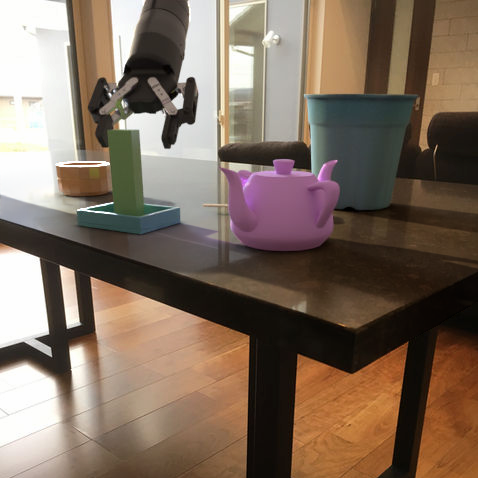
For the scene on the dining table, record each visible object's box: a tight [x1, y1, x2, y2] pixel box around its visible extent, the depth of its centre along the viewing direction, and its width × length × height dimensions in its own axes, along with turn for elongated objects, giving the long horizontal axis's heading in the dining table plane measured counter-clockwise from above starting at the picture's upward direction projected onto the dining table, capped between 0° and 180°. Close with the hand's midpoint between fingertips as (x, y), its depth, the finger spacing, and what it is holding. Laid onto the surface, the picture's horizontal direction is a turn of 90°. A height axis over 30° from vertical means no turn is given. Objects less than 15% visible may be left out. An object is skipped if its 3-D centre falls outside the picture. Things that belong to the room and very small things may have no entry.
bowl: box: [55, 161, 112, 197], centre depth 92 cm, size 9×9×5 cm
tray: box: [75, 202, 182, 235], centre depth 67 cm, size 10×8×2 cm
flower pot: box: [303, 93, 419, 211], centre depth 79 cm, size 16×16×16 cm
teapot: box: [218, 158, 340, 252], centre depth 57 cm, size 12×14×9 cm
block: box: [107, 128, 145, 217], centre depth 65 cm, size 3×3×11 cm
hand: (133, 144), depth 67 cm, fingers open, 8 cm apart
